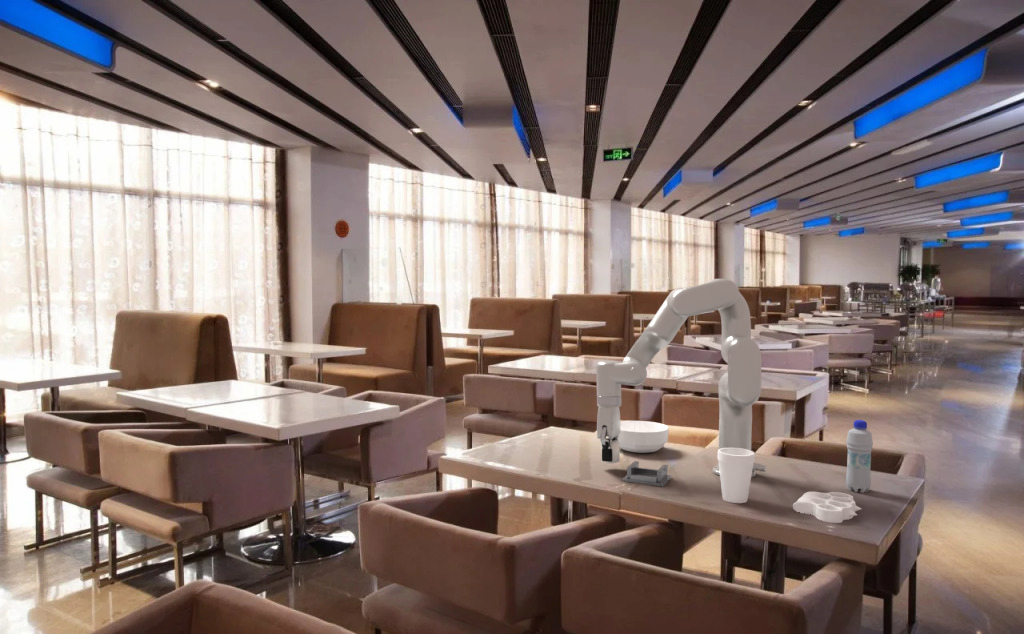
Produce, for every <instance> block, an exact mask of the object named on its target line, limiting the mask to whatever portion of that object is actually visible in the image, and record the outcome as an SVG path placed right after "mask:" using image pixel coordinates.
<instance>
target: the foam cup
mask: <svg viewBox="0 0 1024 634" xmlns="http://www.w3.org/2000/svg"><path fill="white" fill-rule="evenodd" d="M755 454H756V453H755V452H754V451H753V450H751V451H750V450H747V449H742V448H721V449H719V448H718V450H717V458H716V459H717V463H718V462H719V471H720V475H719V480H720V487H721V497H722V499H723V501H725V502H728V503H733V504H743V503H746V502H748V498H749V494H750V493H749V492H750V486H751V481H752V480H751V479H752V477H751V475H752V469H753V463H754V462H756V461H755V459H756V458H755V457H756V455H755Z"/></svg>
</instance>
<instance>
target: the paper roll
mask: <svg viewBox="0 0 1024 634" xmlns="http://www.w3.org/2000/svg"><path fill="white" fill-rule="evenodd" d="M607 442H608V444H609V441H607ZM601 445H602V444H601V443H600V446H601ZM611 449H612V462H606V461H602V448H601V447H600V453H601V454H600V455H601V459H600V461H601V463H605V464H617V463H620V447H619V441H617V440H612V442H611Z"/></svg>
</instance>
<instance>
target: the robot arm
mask: <svg viewBox="0 0 1024 634" xmlns="http://www.w3.org/2000/svg"><path fill="white" fill-rule="evenodd" d="M715 311H718V313H719V315H720V321H721V322H720V323H721V349H720V354H721V358H722V359H723V361H725V362H726V363H727V371H726V372H725V373H723V375H722V376H721V377H720V379H719V382H718V388H717V389H718V390H717V391H718V403H719V404H718V405H719V406H718V407H719V408H718V410H719V414H718V416H719V418H718V419H719V420H718V450H719V449H721V448H742V449H747V450H750V451H752V434H753V433H752V432H753V431H752V425H753V405H754V404H755V403H756V402H758V400H759V398H760V396H761V392H762V353H761V349H760V346H759V344H758V343H757V342H756V341H755V340H753V339H752V323H751V322H752V321H751V312H750V307H749V305H748V303H747V300H746V298H745V297H744V296H743V294H742V293H741V292H740V290H739V287H738V285H737V284H736V282H734V281H733V280H731V279H727V278H714V279H711V280H709V281H707V282H706V283H701V284H698V285H693V286H688V287H676V288H674V289H673V290H672V291H671V292H669V294H668V296H667V297H666V298H665V300H664V301H663V303H662V304H661V305H660V307H659V308H658V310H657V311H656V314H654V315H653V318H652V319H651V320H650V322H648V324H647V326H646V328H645V329H644V330H643V332H642V333H641V335H640V336H639V337H638V339H637V340H636V341H635V342H634V344H633V346H632V347H631V348H630V350H629V351H628V353H627V354H626V355H625V357H624V358H623V360H622V362H619V361H616V360H600V361H598V362H597V363H596V367H595V370H596V377H595V378H596V379H595V380H596V406H597V407H598V408H597V416H596V420H597V421H596V438H597V439H598V440H599V439H600V449H601V448H602V461H606V462H612V449H611V442H612V440H617V441H618V435H619V434H620V422H621V412H620V407H622V385H626V386H639V385H642V384H643V383H645V381H646V380H647V376H648V371H647V368H648V367H649V365H650V363H651V362H652V361H653V359H654V358H655V357H656V356H657V354H658V353H659V352H660V351H662V349H664V348H666V347H667V346H668V345H669V344H670V343H671V342H672V341H673V340H674V338H676V337H675V336H676V335H677V333H678V332H679V331H680V329H681V328H682V326H683V325H684V323H685V322H686V321H687V319H688V318H689V317H692V316H698V315H702V314H706V313H710V312H715ZM607 437H608V438H607ZM607 441H609V444H608V442H607ZM601 444H602V445H601ZM602 461H601V462H602ZM755 462H756V461H755ZM755 462H754V463H753V469H752V475H751V478H754V477H756V475H757V471H759V472H763V473H766V471H767V465H765V464H763V463H755ZM712 473H713V474H715V475H718V476H720V471H719V462H718V461H717V464H716V465H715V466H713V467H712Z"/></svg>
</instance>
